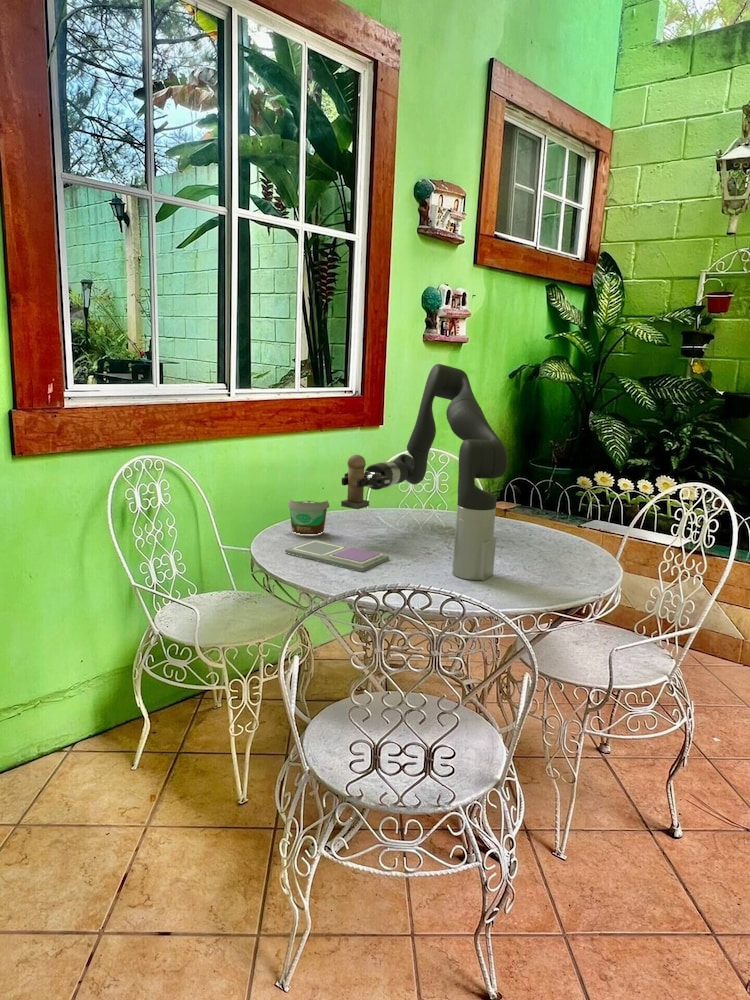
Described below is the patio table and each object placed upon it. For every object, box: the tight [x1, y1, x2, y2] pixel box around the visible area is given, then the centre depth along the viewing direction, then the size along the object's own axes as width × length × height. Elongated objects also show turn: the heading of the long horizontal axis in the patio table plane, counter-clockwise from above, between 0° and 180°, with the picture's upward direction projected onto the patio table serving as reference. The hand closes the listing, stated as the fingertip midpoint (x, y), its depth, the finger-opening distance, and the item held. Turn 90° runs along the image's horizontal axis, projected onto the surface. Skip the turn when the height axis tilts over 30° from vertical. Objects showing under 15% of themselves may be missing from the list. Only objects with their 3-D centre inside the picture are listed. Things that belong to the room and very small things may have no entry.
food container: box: [286, 498, 330, 534], centre depth 187 cm, size 12×6×10 cm, turn 92°
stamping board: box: [284, 539, 390, 572], centre depth 168 cm, size 24×13×2 cm, turn 58°
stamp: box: [340, 454, 370, 510], centre depth 178 cm, size 6×6×14 cm
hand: (350, 482), depth 176 cm, fingers closed on stamp, 4 cm apart
